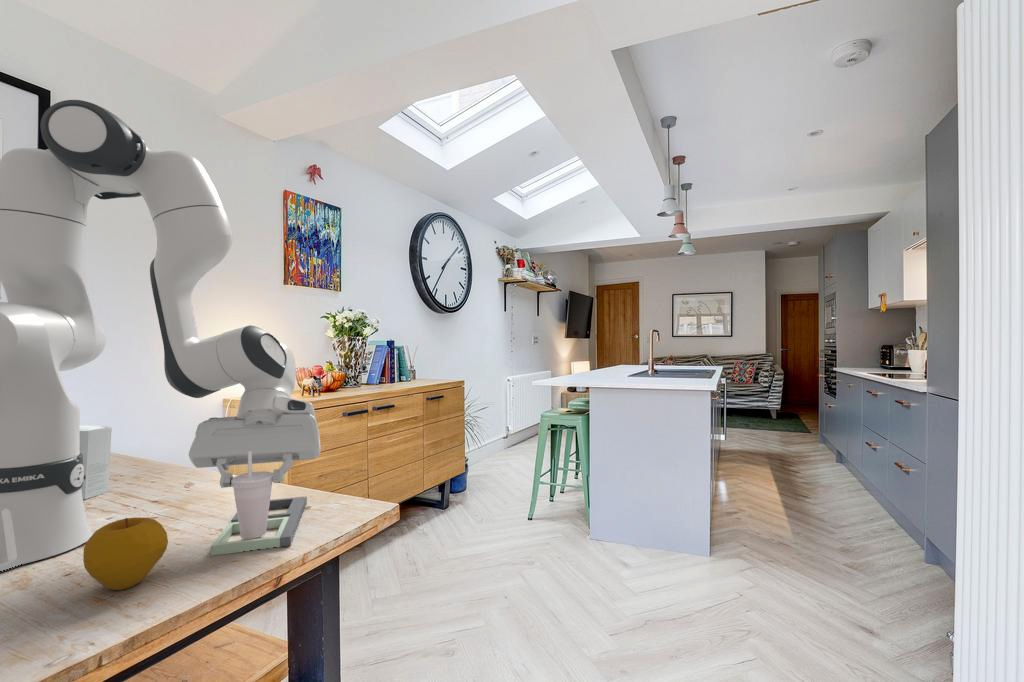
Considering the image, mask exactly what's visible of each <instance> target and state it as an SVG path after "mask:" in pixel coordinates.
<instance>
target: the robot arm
mask: <svg viewBox="0 0 1024 682" xmlns="http://www.w3.org/2000/svg"><path fill="white" fill-rule="evenodd" d="M39 126H40V133H41V137H42V140H43V141H44V143H45V145H46V146H47V149H41V148H34V147H20V148H15V149H10V150H9V151H7V152H4V154H3V155H2V156H1V158H0V282H1V285H2V287H3V289H4V293H5V295H6V299H7V302H5V301H0V571H2V572H4V571H3V570H5V571H7V570H6V569H8V570H10V569H9V568H11V569H13V568H16V567H18V565H19V566H21V564H22V565H26V564H28V563H32V562H36V561H39V560H40V561H41V560H43V559H47V558H50V557H53V556H57V555H60V554H62V553H65V552H68V551H70V550H72V549H74V548H77V547H79V546H82V545H83V544H84V543H85V544H86V543H87V541H88V540H89V538H90V537H91V536H92V535H93V534H94V532H93V531H92V528H91V526H90V523H89V520H88V517H87V513H86V510H85V504H84V500H83V497H82V489H81V488H82V486H83V478H84V467H83V454H81V453H80V426H81V421H80V408H79V407H78V405H77V404H76V403H75V402H74V401H73V400H72V399H71V398H70V397H69V395H68V394H67V391H66V389H65V387H64V385H63V381H62V378H61V374H60V372H65V371H70V370H74V369H77V368H79V367H82V366H84V365H86V364H88V363H91V362H92V361H94V360H96V359H97V358H98V357H99V356H100V355H101V354H102V353H103V351H104V348H105V346H106V342H107V339H106V338H107V337H106V333H105V330H104V328H103V326H102V325H101V324H100V323H99V321H98V320H97V319H96V317H95V314H94V310H93V307H92V302H91V299H90V295H89V291H88V287H87V281H86V280H87V279H86V274H85V273H86V272H85V255H86V253H85V252H86V236H87V235H86V232H87V212H88V206H89V202H90V201H91V199H92V198H93V197H95V198H97V199H99V200H113V199H120V198H122V199H123V198H129V199H130V198H138V197H142V198H143V200H144V202H145V204H146V206H147V208H148V210H149V213H150V214H149V215H150V217H151V218H152V221H153V224H154V227H155V232H156V252H155V255H154V258H153V259H152V261H150V262H151V263H150V265H149V277H150V284H151V290H152V294H153V300H154V305H155V310H156V314H157V319H158V324H159V328H160V329H159V330H160V335H161V339H162V345H163V354H164V355H163V356H164V357H163V358H164V360H163V363H164V364H163V366H164V374H165V375H164V376H165V378H166V380H167V382H168V384H169V386H170V387H172V389H174V390H175V391H177V392H178V393H180V394H182V395H185V396H188V397H191V398H194V399H200V398H204V397H206V396H209V395H211V394H214V393H216V392H219V391H221V390H223V389H225V388H229V387H233V386H235V385H239V384H240V385H242V386H243V388H244V392H243V393H242V395H241V397H240V401H239V404H238V409H237V412H236V413H237V414H236V416H223V417H216V416H215V417H209V418H208V419H207V420H204V421H202V422H200V423H198V425H197V428H196V431H195V437H194V439H193V441H192V443H191V445H190V448H189V451H188V457H189V460H190V462H191V463H192V465H193V466H194V467H195V468H198V469H201V468H202V469H203V468H215V467H216V468H217V470H218V472H219V474H220V478H219V479H220V480H219V486H220V488H221V489H224V488H233V487H232V486H231V479H232V478H234V476H233V473H232V472H226V471H228V470H229V468H230V466H241V465H244V466H245V465H248V451H252V465H256V464H267V463H268V464H270V463H280V462H281V463H282V464H281V466H280V467H279V468H277V469H276V468H275V469H273V472H272V473H273V474H274V475H273V482H272V484H279V483H284V481H285V475H286V474H287V473H288V471H290V469H291V467H293V463H294V461H310V460H316V459H317V458H318V457H319V456H320V455H321V437H320V431H319V426H318V425H319V424H318V421H317V419H316V412H315V411H316V410H315V408H314V405H313V403H311V402H310V401H304V400H301V399H296V398H293V397H292V394H293V392H294V390H295V387H296V374H297V371H296V369H297V368H296V367H297V366H296V359H295V354H294V353H293V350H291V349H290V347H289V346H287V345H286V344H284V343H282V342H280V341H279V340H278V339H277V338H276V337H275V336H274V335H272V334H271V333H269V332H268V331H266V330H264V329H263V328H261V327H258V326H255V325H251V324H249V325H246V326H242V327H239V328H234V329H232V330H228V331H225V332H222V333H220V334H217V335H214V336H211V337H206V338H203V339H201V338H200V337H199V333H198V328H197V323H196V318H195V313H194V308H193V303H192V296H193V295H192V294H193V292H194V288H195V286H196V285H197V284H198V282H199V281H200V280H201V279H202V278H203V277H204V276H205V275H206V274H207V273H209V272H210V271H211V270H212V269H213V268H215V267H216V266H218V265H219V264H220V263H221V262H222V261H223V260H224V259H225V257H226V256H227V254H228V253H229V251H230V249H231V247H232V243H233V238H234V237H233V231H232V227H231V223H230V219H229V218H228V214H227V213H226V209H225V207H224V204H223V202H222V200H221V198H220V196H219V193H218V190H217V189H216V187H215V185H214V183H213V181H212V179H211V178H210V175H209V174H208V172H207V171H206V169H205V167H204V166H203V164H202V163H201V162H200V161H199V160H198V159H197V158H196V157H194V156H193V155H191V154H188V153H186V152H182V151H177V150H164V151H163V150H162V151H156V150H152V149H151V148H149V147H148V146H147V145H146V144H147V143H146V141H145V140H144V139H143V137H141V136H140V135H139V134H138V133H136V131H134V130H133V129H132V128H131V127H130V126H129V125H128V124H127V123H125V122H124V121H123V119H121V118H120V117H118V115H116V114H114V113H112V112H111V111H109V110H107V109H106V108H104V107H102V106H100V105H98V104H95V103H92V102H90V101H85V100H82V99H66V100H61V101H59V102H56V103H54V104H52V105H51V106H50V107H48V108H47V109H46V110H45V111H44V112H43V114H42V117H41V120H40V125H39ZM15 566H16V567H15ZM12 567H13V568H12Z"/></svg>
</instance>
